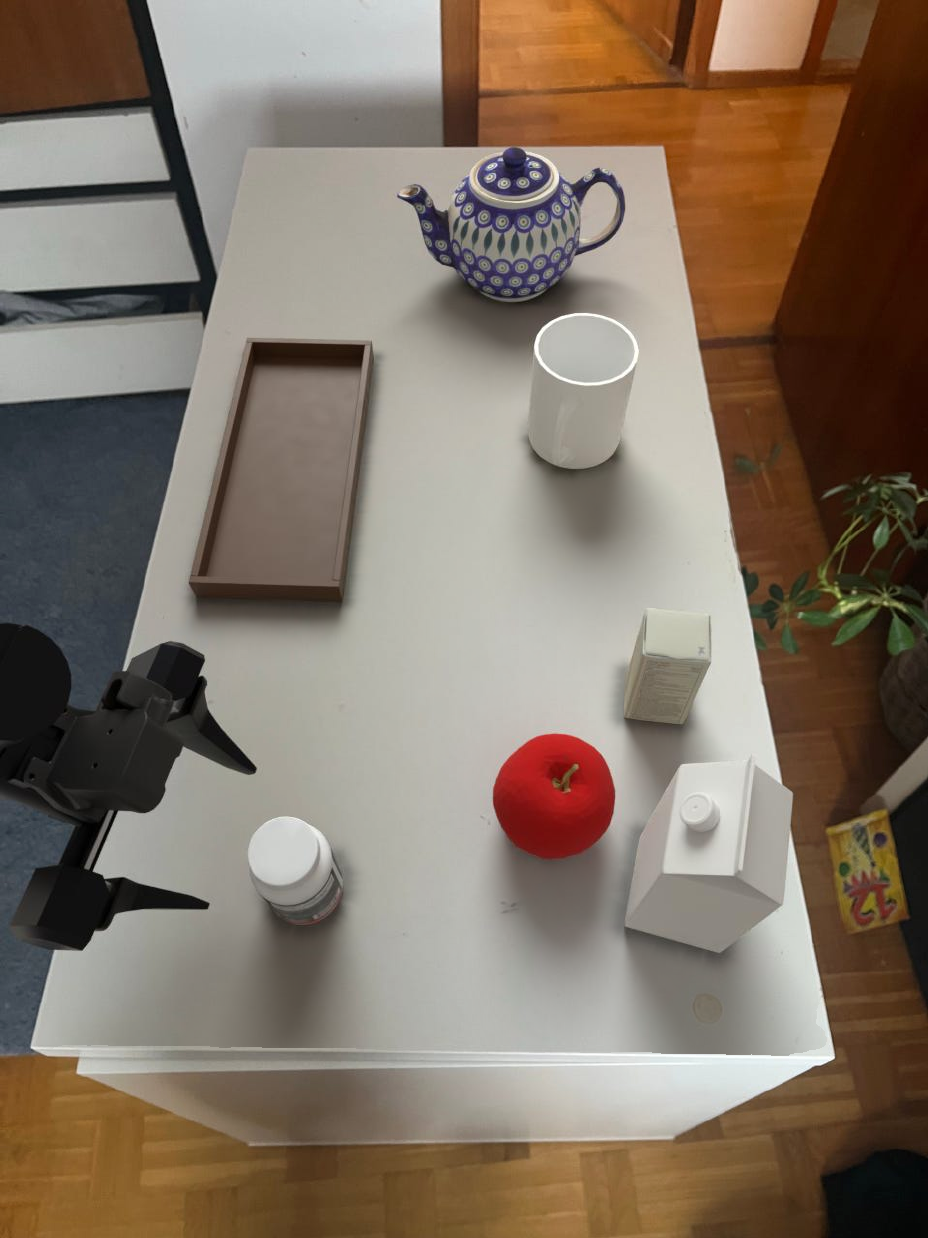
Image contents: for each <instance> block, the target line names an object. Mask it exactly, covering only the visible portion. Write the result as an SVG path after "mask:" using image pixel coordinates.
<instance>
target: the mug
mask: <svg viewBox="0 0 928 1238" xmlns="http://www.w3.org/2000/svg"><path fill="white" fill-rule="evenodd" d="M638 345H639V344H638V342H637V340H636V338H635V336H634V334H633V333H632V332H631V331H630V330H629V329H628V328H627V327H626V326H625V325H623V324H622V323H621V322H618V321H617V320H615V319H614V318H610V317H607V316H605V315H602V314H597V313H590V312H580V313H579V312H577V313H570V314H565V315H561V316H559V317H557V318H554V319H553V320H550V321H548V323H547V324H545V325H543V326H542V328H541V329H540V330H539V332H538V333H537V335H536V337H535V341H534V344H533V355H532V367H531V379H530V390H529V391H530V392H529V402H528V403H529V405H528V416H527V434H528V441H529V443H530V446H531V447H532V449H533V450H534V451H535V453H536V454H537V455H538V456H539V458H541V459H543V460H544V461H546V462H547V463H548V464H552V465H554V466H556V467H559V468H564V469H570V470H585V469H589V468H593V467H596V466H599V465H600V464H602V463H604V462H606V461H607V460H608V459H610V458H611V457H612V456H613V455H614V453H615V452H616V450H617V448H618V446H619V445H620V441H621V437H622V434H623V433H622V432H623V428H624V424H625V419H626V415H627V410H628V405H629V401H630V395H631V390H632V386H633V382H634V381H633V380H634V377H635V376H634V375H635V373H636V368H637V363H638V359H639V353H640V351H639V346H638Z"/></svg>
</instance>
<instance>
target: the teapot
mask: <svg viewBox="0 0 928 1238" xmlns="http://www.w3.org/2000/svg"><path fill="white" fill-rule="evenodd" d="M598 183H605V184H607V186H608V187H610V189H611V190H612V192H613V194H614V196H615V198H616V206H615V212H614V214H613V218H612V220H611V221H610V222H609V223H608V225H607V226H605V227H604V228H603V229H601V231H599V232H597V233H596V234H595V235H592V236H589V237H587V238H581V236H580V235H581V220H582V219H581V207H582V205H583V203H584V201H585V198H586V196H587V194H588V192H589V190H590V189H591V188H592V187H593V186H594V185H595V184H598ZM623 189H624V188H623V187H622V185H621V183H620V182H619V179H618V178H617V177H616V176H615V175H614V174H613V173H612V172H611V171H610V170H608V169H607V168H605V167H601V166H600V167H596V168H594V169H592V170H590V171H589V172H587V173H586V174H584V175H583V176H582V177H581V178H579V180H577V181H576V182H574V183H570V182H569V181H568V180H567V178H566V177H565V176H564V175H562V173H561V172H559V170H558V169H557V166H556V165H555V164H554V163H553V162H552V161H551V160H549V159H548V158H547V157H545V156H543V155H540V154H538V153H534V152H531V151H526V150H524V149H523V148H520V147H516V146H512V147H508V148H506V149H505V150H504V151H498V152H494V153H492V154H489V155H486V156H485V157H482V158H481V159H480V160H479V161H477V162H476V163H475V164H474V166H473V167H472V168H471V170H470V172H469V173H468V174H467V175H466V176H465V177H464V178H463V179H462V180H461V181H460V182H459V183H458V185H457V186H456V188H455V190H454V191H453V193H452V195H451V198H450V201H449V203H448V207H447V208H446V209H444V210H443V211H441V210H439V209H437V208H436V206H435V203H434V200H433V199H432V197H431V196H430V195H429V193H428V192H427V190H426V189H425V188H424V187H423V186H422V185H420V184H417V183H414V184H410V185H406V186H405V187H403V188H402V189H400V190H399V191H398V193H397V195H396V197H397V199H400V200H402V201H404V202H405V203H408V204H409V205H411V206H413V208H414V210H415V212H416V214H417V219H418V222H419V226H420V230H421V234H422V238H423V242H424V244H425V247H426V249H427V251H428V253H429V254H430V256H431V257H432V258H433V260H435V261H436V262H437V263H439V264H440V265H441V266H445V267H449V268H453V269H454V270H455V271H456V272H457V274H458V275H459V276H460V278H462V279H463V280H464V281H465V282H466V283H467V284H468V285H469V286H471V287H472V288H473V289H475V290H476V291H478V292H479V293H481V294H482V295H483V296H485V297H487V298H490V299H492V300H496V301H499V302H505V303H519V302H524V301H530V300H532V299H534V298H536V297H538V296H540V295H542V294H543V293H544V292H545V291H547V290H548V289H549V288H551V287H552V286H554V285H555V284H557V283H558V282H559V281H560V280H561V279H563V277H564V276H565V274H566V273H567V271H568V270H569V269H570V267H571V266H572V264H573V261H574V259H575V257H576V256H580V255H582V254H585V253H588V252H590V251H593V250H596V249H598V248H600V247H602V246H603V245H605V244H606V243H608V242H609V241H610V240H611V239H612V238H613V237H614V236H615V235H616V234H617V233H618V231H619V230H620V228H621V226H622V223H623V221H624V218H625V213H626V196H625V193H624V190H623Z"/></svg>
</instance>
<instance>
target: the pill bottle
mask: <svg viewBox="0 0 928 1238" xmlns="http://www.w3.org/2000/svg"><path fill="white" fill-rule="evenodd" d="M248 843H249V844H248V847H247V853H246V854H247V855H246V857H247V862H248V867H249V868H248V869H249V877H250V880H251V883H252V884H253V887H254V888H255V890H256V892H257V893H258V894H259V896H261V898H262V899H263V900H264V901H265V903H266V904H267V905H268V906H269V907H270V909H272V911H273V912H274V913H275V914H276V915H277V916H278V917H279V918H280V919H282V920H283V921H285V922H288V923H290V924H293V925H300V926H301V925H302V926H304V925H310V924H315V923H317V922H320V921H321V920H323V919H325V918H326V917H327V916H329V915H330V914H331V913H332V912H333V910H334V909H335V908H336V907H337V905H338V903H339V901H340V899H341V897H342V894H343V889H344V878H343V873H342V869H341V866H340V864H339V863H338V860H337V858H336V856H335V853H334V851H333V849H332V847H331V845H330V843H329V842H328V839H327V837H325V836H324V834H323V833H322V832H321V831H320V830H319V829H318V828H316V827H314V826H313V825H310V824H308V823H307V822H306V821H304V820H302V819H300V818H298V817H294V816H279V817H275V818H272V819H270V820H268V821H266V822H264V823H263V824H262V825H260V826H259V827H258V828H257V830H255V832H254V833H253V835H252V837H251V838H250V840H249V842H248Z"/></svg>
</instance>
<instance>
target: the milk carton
mask: <svg viewBox="0 0 928 1238" xmlns="http://www.w3.org/2000/svg"><path fill="white" fill-rule="evenodd" d="M756 756H757V754H755V753H752V754H751V755H750V756H749V758H748V759H745V760H744V759H743V760H727V761H713V762H712V761H711V762H693V763H681V764H680V765H679V767H678V768H677V769H676V771H675V773H674V775H673V777H672V778H671V780H670V781H669V784H668V786H667V787H666V789H665V791H664V793H663V794H662V796H661V798H660V800H659V802H658V804H657V806H656V807H655V809H654V811H653V813H652V815H651V816H650V818H649V820H648V821H647V824H646V825H645V827H644V828H643V831H641V832H642V833H641V834H640V836H639V840H638V845H637V849H636V856H635V861H634V868H633V872H632V878H631V884H630V890H629V895H628V900H627V905H626V906H627V907H626V912H625V918H624V927H626V928H629V929H632V930H636V931H639V932H643V933H645V934H646V933H647V934H650V935H653V936H657V937H661V938H664V939H668V940H670V941H671V940H672V941H674V942H679V943H681V944H685V945H689V946H693V947H696V948H700V949H704V950H707V951H711V952H714V953H718V954H721V953H722V952H723V951H725V950H727V948H729V947H730V946H731V945H732V944H734V943H735V942H737V940H739V939H740V938H742V937H743V936H744V935H745V934H747V933H748V932H750V931H751V930H752V929H753V928H755V927H756V926H757V925H759V924H760V923H761V922H762V921H764V920H765V919H767V918H768V917H769V916H770V915H771V914H773V913H774V912H776V911H777V910H778V909H779V908H781V907H782V906H784V901H785V889H786V878H787V867H788V859H789V858H788V856H789V847H790V844H789V843H790V834H791V823H792V812H793V803H794V802H793V801H794V794H793V792H792V790H790V789H789V788H788V787H786V786H785V785H783V784H782V783H781V782H780V781H778V780H777V779H776V778H774V777H773V776H771V775H770V774H769V773H767V772H766V771H765V770H764V769H762V768H761V767H759V766H758V765H757V764H756Z"/></svg>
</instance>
